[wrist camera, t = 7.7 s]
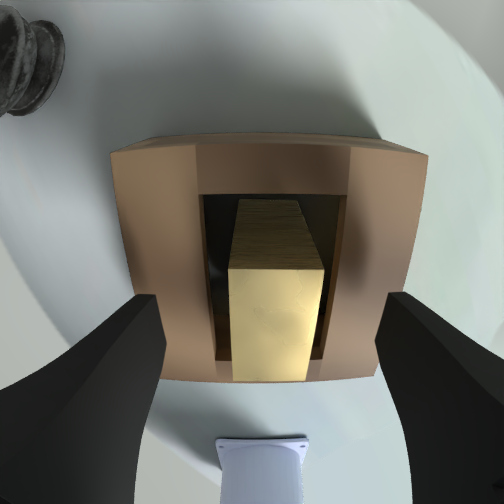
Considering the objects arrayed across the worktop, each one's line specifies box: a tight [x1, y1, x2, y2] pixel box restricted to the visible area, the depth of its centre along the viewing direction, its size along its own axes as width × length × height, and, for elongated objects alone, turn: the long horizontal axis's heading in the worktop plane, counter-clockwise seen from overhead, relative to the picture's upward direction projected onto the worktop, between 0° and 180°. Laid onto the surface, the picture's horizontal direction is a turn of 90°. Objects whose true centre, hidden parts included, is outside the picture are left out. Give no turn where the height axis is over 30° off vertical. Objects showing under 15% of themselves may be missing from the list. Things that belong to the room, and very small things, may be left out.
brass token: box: [228, 199, 325, 381], centre depth 12 cm, size 4×2×6 cm, turn 0°
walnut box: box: [110, 132, 428, 383], centre depth 12 cm, size 10×10×4 cm
